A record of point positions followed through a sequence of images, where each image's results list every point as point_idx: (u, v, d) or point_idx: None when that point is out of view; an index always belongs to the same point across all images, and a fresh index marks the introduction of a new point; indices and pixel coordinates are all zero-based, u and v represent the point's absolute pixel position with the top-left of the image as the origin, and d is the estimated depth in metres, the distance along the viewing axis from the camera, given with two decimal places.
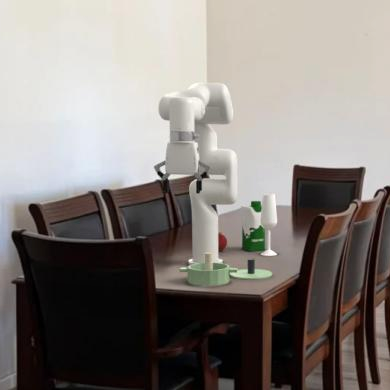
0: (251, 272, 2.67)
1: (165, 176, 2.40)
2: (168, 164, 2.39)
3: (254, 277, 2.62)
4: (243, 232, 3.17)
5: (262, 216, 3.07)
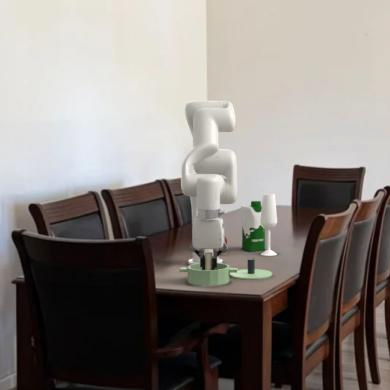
0: (251, 272, 2.67)
1: (202, 254, 2.56)
2: (195, 239, 2.55)
3: (254, 277, 2.62)
4: (243, 232, 3.17)
5: (262, 216, 3.07)
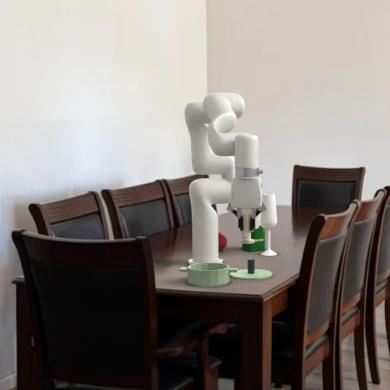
0: (251, 272, 2.67)
1: (240, 214, 2.49)
2: (233, 199, 2.48)
3: (254, 277, 2.62)
4: None
5: (262, 216, 3.07)
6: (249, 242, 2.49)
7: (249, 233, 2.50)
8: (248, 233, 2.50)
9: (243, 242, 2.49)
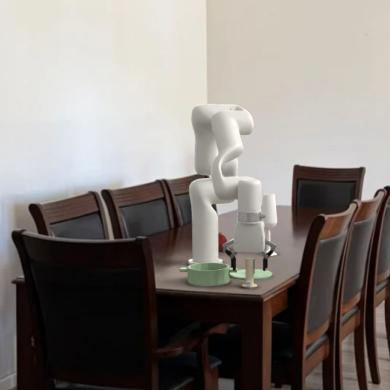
0: None
1: (233, 254, 2.50)
2: (236, 243, 2.49)
3: (254, 277, 2.62)
4: None
5: None
6: None
7: (252, 278, 2.52)
8: (251, 278, 2.51)
9: None
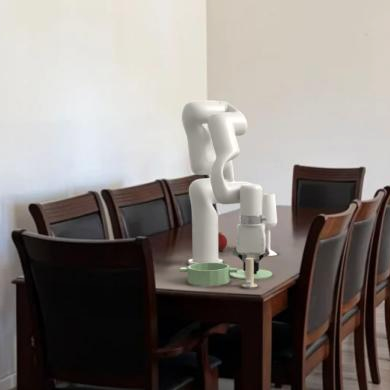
0: None
1: None
2: (239, 244, 2.65)
3: (254, 277, 2.62)
4: None
5: None
6: None
7: (252, 278, 2.52)
8: (251, 278, 2.51)
9: None
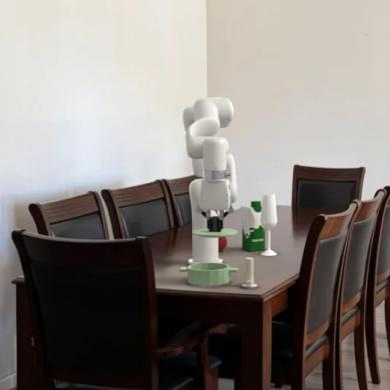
0: (215, 230, 2.57)
1: (209, 216, 2.56)
2: (202, 201, 2.55)
3: (218, 234, 2.52)
4: (243, 232, 3.17)
5: (262, 216, 3.07)
6: None
7: (252, 278, 2.52)
8: (251, 278, 2.51)
9: None
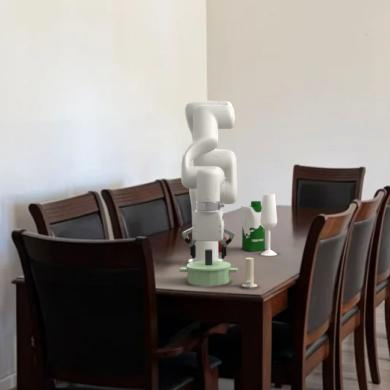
0: (208, 263, 2.57)
1: (192, 243, 2.56)
2: (195, 232, 2.55)
3: (211, 268, 2.51)
4: (243, 232, 3.17)
5: (262, 216, 3.07)
6: None
7: (252, 278, 2.52)
8: (251, 278, 2.51)
9: None
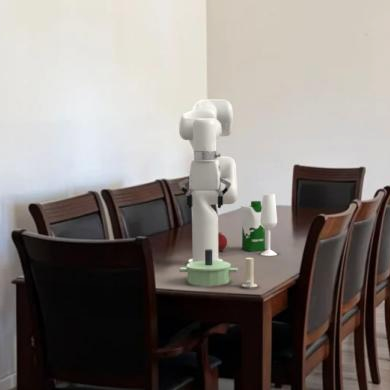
0: (208, 263, 2.57)
1: (189, 192, 2.60)
2: (192, 181, 2.59)
3: (211, 268, 2.51)
4: (243, 232, 3.17)
5: (262, 216, 3.07)
6: None
7: (252, 278, 2.52)
8: (251, 278, 2.51)
9: None
